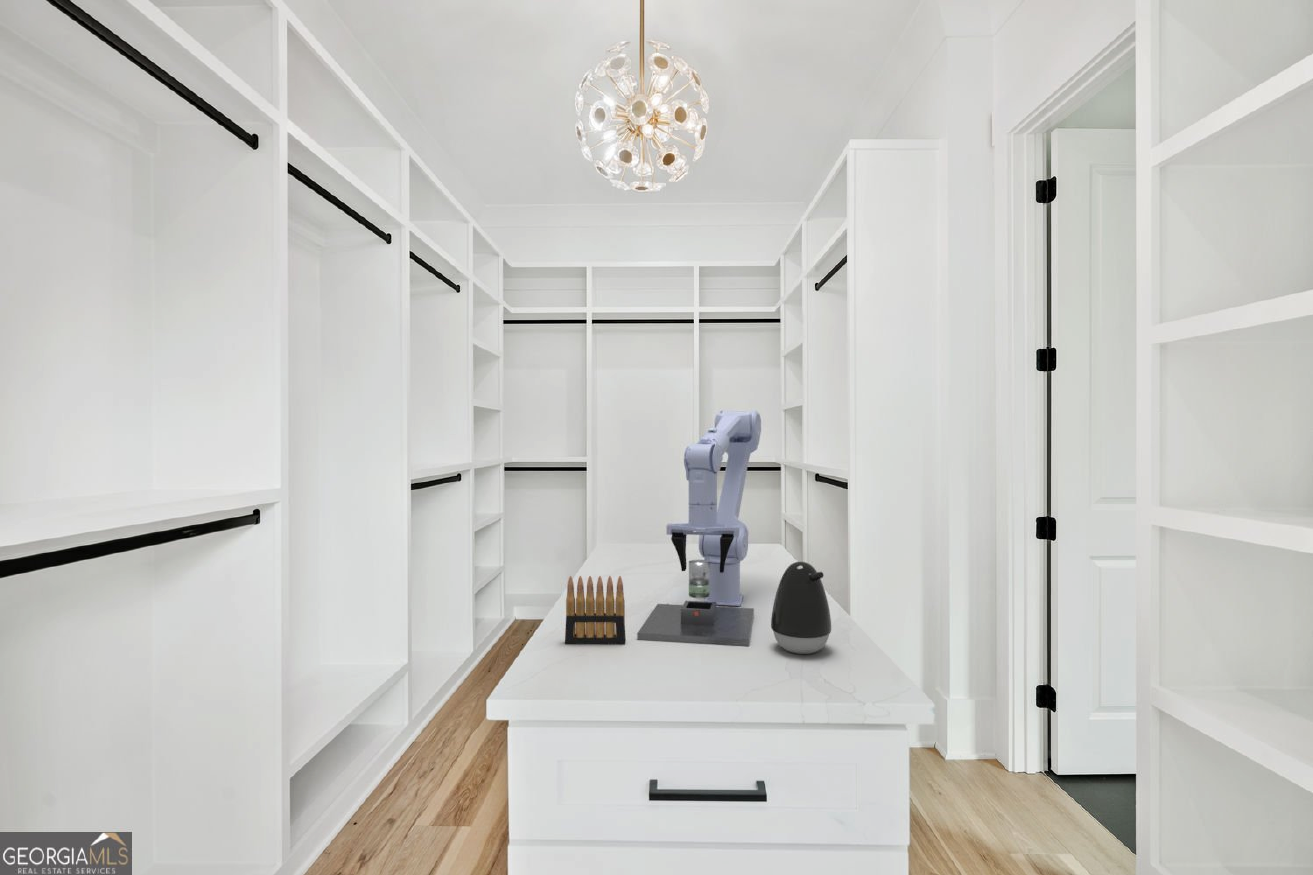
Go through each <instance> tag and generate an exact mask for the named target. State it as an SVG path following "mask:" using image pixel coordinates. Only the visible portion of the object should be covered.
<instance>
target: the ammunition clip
mask: <svg viewBox="0 0 1313 875" xmlns="http://www.w3.org/2000/svg"><path fill="white" fill-rule="evenodd" d="M566 588H567V589H566V590H567V591H566V600H565V630H564V631H565V633H564V635H565V637H564V644H565V645H583V646H585V645H587V646H589V645H593V646H594V645H598V646H599V645H601V646H602V645H605V646H606V645H607V646H608V645H611V646H612V645H619V646H620V645H621V646H623V645H626V641H627V640H626V621H625V620H626V619H625V617H626V613H625V612H626V611H625V610H626V609H625V606H626V604H625V596H624V582H623V578H622V576H621V575H619V576H618V579H617V582H616V593H614V583H613V579H612V577H611V575H609V576H608V579H607V582H606V593H605V594H606V595H604V583H603V579H602V577H601V575H599V576H598V578H597V582H596V596H595V593H594V592H595V591H594V582H593V577H592V576H591V575H589V576H588V579H587V584H586V598H585V592H584V591H585V587H584V582H583V577H582V575H579V577H578V580H577V586H576V597H575V585H574V580H573V577H572V576H571V575H570V576H569V578H568V581H567V587H566ZM614 594H616V595H614ZM604 596H605V597H604Z"/></svg>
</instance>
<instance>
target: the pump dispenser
mask: <svg viewBox="0 0 1313 875" xmlns="http://www.w3.org/2000/svg"><path fill="white" fill-rule="evenodd" d="M783 572H784V573H782V574H783V575H782V577H781V579H780V581H779V584H778V586H777V590H776V592H775V593H776V594H775V597H774V600H773V604H772V605H773V606H772V611H771V618H770V619H771V620H770V628H771V629H772V630H771V631H773V635H774V636H773V637H774V638H775V640H776V642H777V644H778V645H779V646H780V647H781V648H783V649H784V650H786V651H788V652H789V653H792V654H798V655H811V654H813V653H816V652H818V651H820V650H822V649H823V648H824V647H825V646H826V644H827V643H828V640H829V637H830V634H831V633H832V618H831V611H830V605H829V602H828V598H827V593H826V591H825V587H824V585H823V581H822V578H824V572H823V571H817V570H816V569H815V567H814V566H813V565H812V564H810V563H808V562H806V561H795V562H793V563H791V564H789V566H788V567H787V568H786V569H785V570H784V571H783Z"/></svg>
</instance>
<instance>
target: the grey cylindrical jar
mask: <svg viewBox="0 0 1313 875" xmlns="http://www.w3.org/2000/svg"><path fill="white" fill-rule="evenodd" d="M688 596H689V597H690V598H694V599H705V598H706V597H709V596H710V562H709V561H707V560H704V559H691V560H689V561H688Z"/></svg>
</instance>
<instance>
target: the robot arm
mask: <svg viewBox="0 0 1313 875" xmlns="http://www.w3.org/2000/svg"><path fill="white" fill-rule="evenodd" d="M761 432H762V420H761V415H760V413H759V412H758V410H750V411H747V410H746V411H734V410H733V411H723V410H719V411H718V412H717V413H716V414H715V418H714V427H710V428H708V430H707V431H706V432H705V433H704V434H703V435H702V437H701V438H700V439H699V440H698V442H696V443H691V444H690V445H688V446H686V448H685V449H684V450H685V451H684V453H683V454H684V455H683V465H684V466H683V467H684V469H685V478H686V481H688V523H668V524H666V535H668V536H671V538H670V539H671V542H672V545H673V546H674V549H675V551H676V553H677V556H678V559H679V564H680V570H681V572H686V570H687V552H686V551H687V536H688V535H691V536H693V535H695V536H697V535H698V536H699V538H698V552H699V553H700V556H701V557H702V558H704V559H703V560H707V561H709V562H710V596H709V597H706V598H704V600H703V601H705V602H717V606H732V607H733V606H734V607H735V606H737V607H741V605H742V601H743V597H744V593H742V592H741V561H744V560H745V558H746V557H747V554H748V549H749V530H748V528H747V525H746V524H745V523H744V522H743V521H742V520H740V519H739V516H740V510H741V506H742V500H743V495H744V494H743V493H744V489H745V483H746V482H745V481H746V477H747V471H748V465H749V461H750V457H751V454H752V453H754V452H755V451H757V450H758V448H759V447H758V446H759V444H760V440H761V439H760V438H761ZM725 453H726V454H727V460H726V464H725V465H726V466H725V473H724V477H723V480H722V485H721V486H722V487H721V490H720V491H721V493H720V496H719V502H718V472H720V470H721V467H722V462H723V459H724V456H723V455H725Z"/></svg>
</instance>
